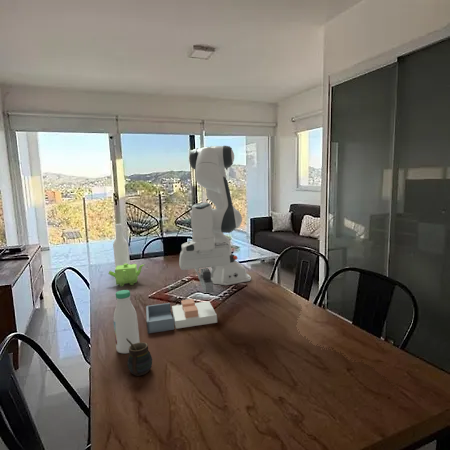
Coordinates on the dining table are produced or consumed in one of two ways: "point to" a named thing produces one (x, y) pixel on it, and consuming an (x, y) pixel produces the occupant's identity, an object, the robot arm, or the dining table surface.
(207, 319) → the board
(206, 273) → the two-tone stepped block
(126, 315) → the milk bottle
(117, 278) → the kettle
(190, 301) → the tile back
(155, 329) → the tray
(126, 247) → the alcohol
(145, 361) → the mate gourd
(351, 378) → the dining table surface
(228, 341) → the dining table surface
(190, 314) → the tile front
